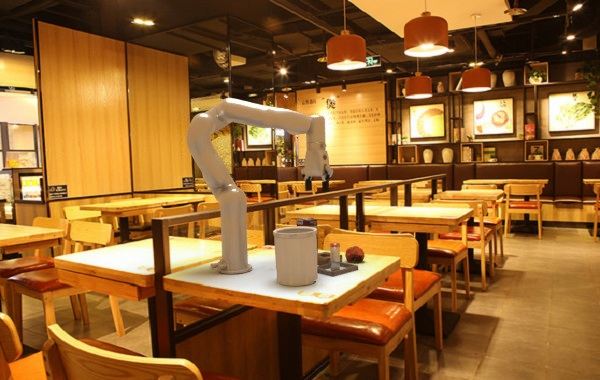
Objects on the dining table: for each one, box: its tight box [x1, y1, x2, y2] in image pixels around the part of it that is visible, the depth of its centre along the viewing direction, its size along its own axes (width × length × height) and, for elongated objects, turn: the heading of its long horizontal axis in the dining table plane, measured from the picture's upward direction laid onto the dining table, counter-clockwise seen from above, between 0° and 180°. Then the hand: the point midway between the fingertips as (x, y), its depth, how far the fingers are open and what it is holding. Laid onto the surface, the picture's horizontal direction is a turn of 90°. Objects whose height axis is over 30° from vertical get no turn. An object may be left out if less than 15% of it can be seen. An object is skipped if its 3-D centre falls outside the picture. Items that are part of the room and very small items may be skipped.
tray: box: [317, 261, 359, 278], centre depth 159 cm, size 13×10×2 cm
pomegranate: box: [344, 245, 365, 265], centre depth 172 cm, size 7×7×10 cm
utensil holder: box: [272, 225, 318, 287], centre depth 150 cm, size 15×15×18 cm
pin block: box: [317, 251, 343, 266], centre depth 171 cm, size 9×9×4 cm
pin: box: [329, 242, 341, 271], centre depth 159 cm, size 3×3×10 cm
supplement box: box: [296, 217, 319, 254], centre depth 189 cm, size 9×5×16 cm, turn 41°
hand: (317, 191), depth 175 cm, fingers open, 9 cm apart
